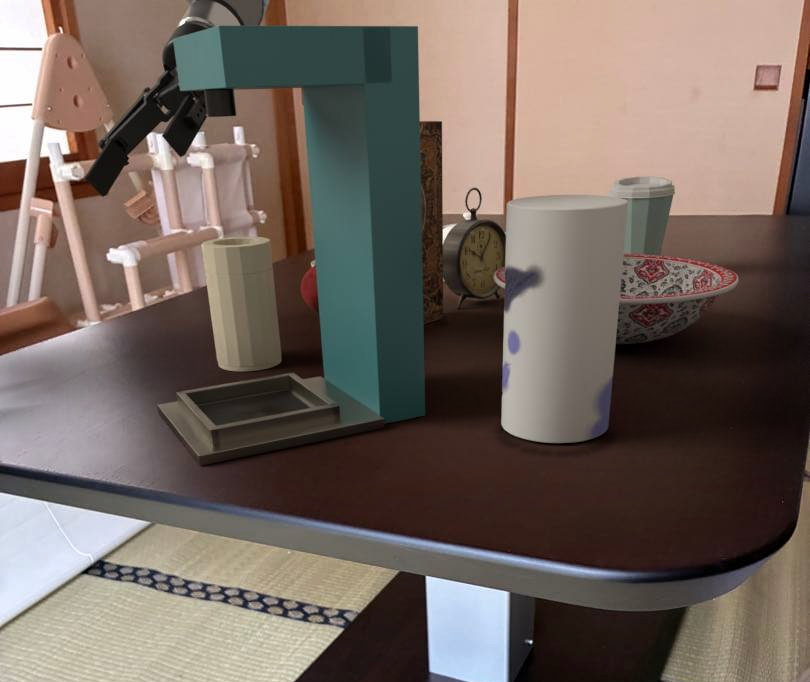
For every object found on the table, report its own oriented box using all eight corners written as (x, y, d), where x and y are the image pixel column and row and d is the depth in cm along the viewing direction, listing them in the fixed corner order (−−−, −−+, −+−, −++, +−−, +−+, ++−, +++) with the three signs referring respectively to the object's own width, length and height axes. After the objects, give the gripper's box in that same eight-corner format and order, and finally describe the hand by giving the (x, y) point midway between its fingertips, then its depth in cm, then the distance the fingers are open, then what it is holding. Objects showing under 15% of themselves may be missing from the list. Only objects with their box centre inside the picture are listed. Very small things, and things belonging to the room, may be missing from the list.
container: (482, 418, 82) (485, 198, 72) (569, 402, 85) (583, 190, 76) (536, 452, 74) (547, 209, 64) (630, 433, 77) (653, 200, 68)
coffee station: (158, 413, 86) (92, 39, 70) (362, 377, 95) (343, 38, 79) (200, 466, 73) (130, 24, 58) (430, 418, 82) (424, 25, 67)
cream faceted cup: (210, 360, 103) (194, 240, 96) (269, 350, 106) (257, 234, 99) (228, 375, 97) (212, 249, 90) (290, 365, 100) (278, 242, 93)
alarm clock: (459, 312, 121) (459, 192, 114) (434, 307, 125) (432, 189, 117) (511, 300, 128) (514, 185, 120) (485, 295, 131) (487, 183, 124)
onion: (350, 315, 122) (346, 258, 118) (315, 322, 119) (310, 263, 115) (330, 308, 126) (326, 253, 122) (296, 314, 123) (291, 258, 119)
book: (420, 311, 122) (416, 121, 111) (448, 316, 119) (448, 121, 107) (338, 334, 112) (325, 126, 100) (367, 341, 109) (357, 127, 97)
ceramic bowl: (463, 360, 100) (463, 291, 96) (524, 306, 123) (526, 249, 120) (721, 381, 90) (733, 305, 86) (734, 318, 114) (743, 257, 110)
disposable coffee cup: (674, 279, 137) (685, 180, 130) (608, 281, 138) (616, 183, 131) (658, 268, 147) (668, 175, 140) (596, 269, 147) (603, 177, 140)
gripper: (298, 37, 96) (235, 156, 86) (159, 116, 111) (91, 226, 101) (256, -26, 91) (184, 93, 81) (116, 65, 105) (40, 175, 96)
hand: (132, 167), depth 91 cm, fingers open, 13 cm apart
